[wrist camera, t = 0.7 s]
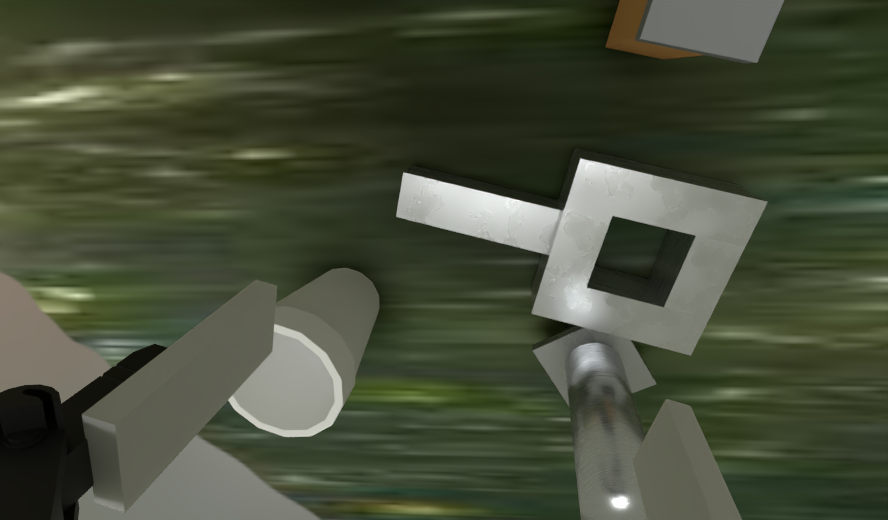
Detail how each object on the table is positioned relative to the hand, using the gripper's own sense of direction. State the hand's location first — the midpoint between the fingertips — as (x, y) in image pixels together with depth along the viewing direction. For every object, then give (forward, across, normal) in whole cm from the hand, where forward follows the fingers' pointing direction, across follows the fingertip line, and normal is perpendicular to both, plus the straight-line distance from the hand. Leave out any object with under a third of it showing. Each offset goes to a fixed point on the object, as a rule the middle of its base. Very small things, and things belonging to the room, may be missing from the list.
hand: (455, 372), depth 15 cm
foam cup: (+24, -11, -14) cm, 30 cm away
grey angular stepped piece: (+24, +4, -6) cm, 25 cm away
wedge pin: (+24, +6, +14) cm, 29 cm away
